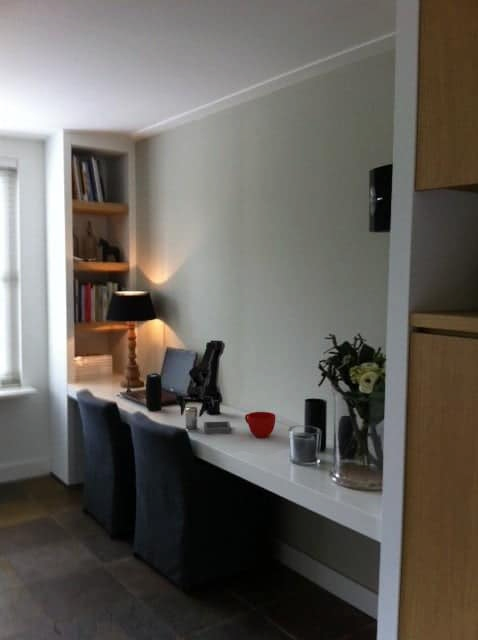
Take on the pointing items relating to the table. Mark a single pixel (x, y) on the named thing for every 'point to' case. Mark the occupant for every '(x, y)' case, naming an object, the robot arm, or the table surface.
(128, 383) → the eiffel tower figurine
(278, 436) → the table surface
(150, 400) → the portable speaker
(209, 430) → the duct collar
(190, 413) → the grey cylinder
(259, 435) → the ceramic cup
